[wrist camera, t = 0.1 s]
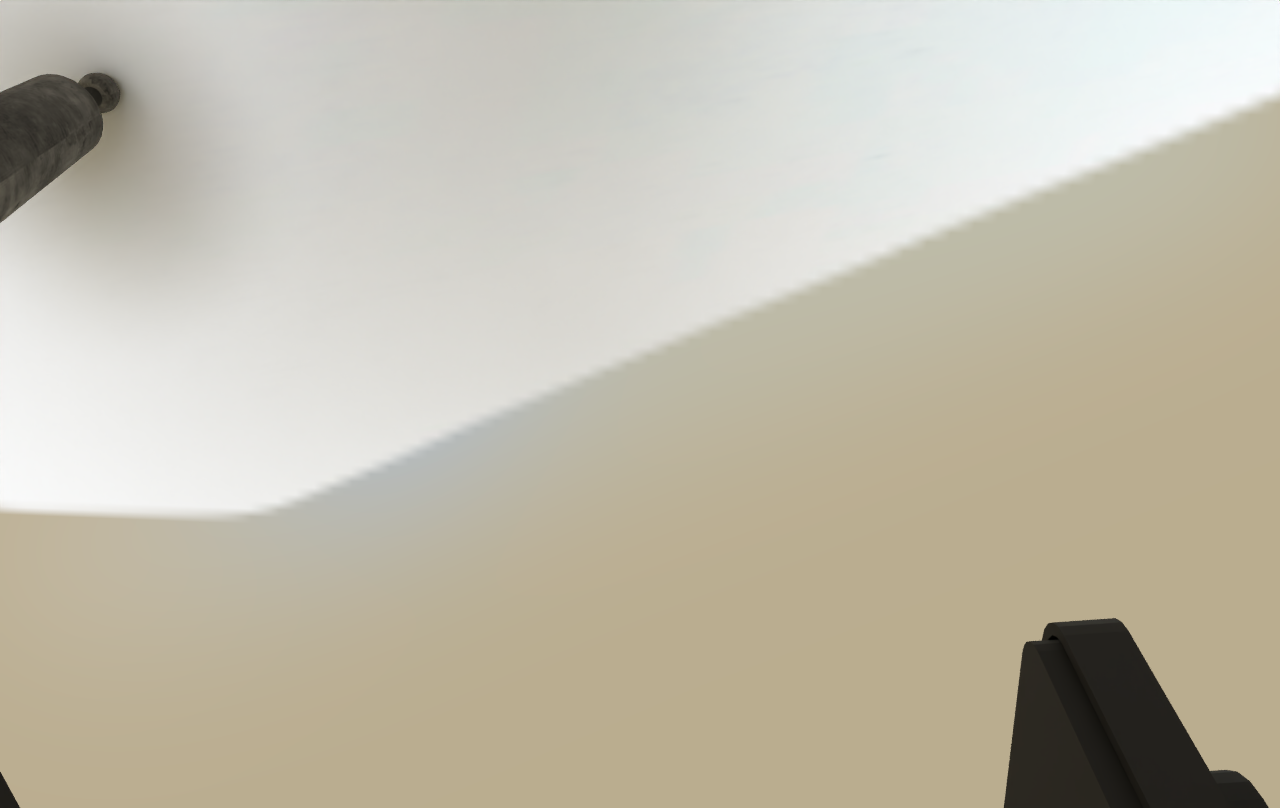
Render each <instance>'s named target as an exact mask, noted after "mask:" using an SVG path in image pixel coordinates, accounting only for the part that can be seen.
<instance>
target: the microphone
mask: <svg viewBox="0 0 1280 808" xmlns="http://www.w3.org/2000/svg"><path fill="white" fill-rule="evenodd" d="M119 99H120V92H119V88H118V86H117V84H116V83H115V82H114V81H113V80H112V79H111V78H110V77H108V76H107V75H104V74H101V73H91V74H88V75H85V76H84V77H83V78H82V79H81V80H80V81H79V83H76V82H75V81H73V80H71V79H69V78H66V77H64V76H60V75H53V74H46V75H40V76H37V77H35V78H32V79H30V80H28V81H26V82H23V83H21V84H19V85H16V86H14V87H12V88H9V89H7V90H5V91H2V92H0V223H1V222H2V221H3V220H5V219H6V218H7V217H8V216H9V215H11V214H12V213H13V212H14V211H16V210H17V209H18V208H19V207H21V206H22V205H23V204H24V203H26V202H27V201H28V200H29V199H31V198H32V197H33V196H34V195H36V194H37V193H38V192H39V191H41V190H42V189H43V188H44V187H46V186H47V185H48V184H49V183H50V182H52V181H53V180H54V179H55V178H57V177H58V176H59V175H60V174H62V173H63V172H64V171H65V170H67V169H68V168H69V167H70V166H72V165H73V164H74V163H75V162H77V161H78V160H79V159H80V158H82V157H83V156H84V155H85V154H87V153H88V152H89V151H90V150H91V149H93V148H94V147H95V146H96V144H97V143H98V142H99V140H100V138H101V135H102V130H103V120H102V115H101V113H105V112H109V111H111V110H112V109H114V108H115V107H116V106H117V104H118V102H119Z"/></svg>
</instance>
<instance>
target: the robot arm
mask: <svg viewBox="0 0 1280 808" xmlns="http://www.w3.org/2000/svg"><path fill="white" fill-rule="evenodd" d="M0 808H20V807H19V805H18V803H17V801H16V800H15V798H14V796H13V794H12V792H11V791H10V789H9V787H8V785H7V783H6V781H5V779H4V778H3V776H2V774H1V772H0ZM1004 808H1268V806H1267V805H1266V803H1265V801H1264V799H1263V798H1262V797H1261V795H1260V794H1259V793H1258V791H1257V790H1256V789H1255V787H1254V786H1253V785H1252V783H1251V782H1250V781H1249V780H1247V779H1246V778H1245V777H1244V776H1242V775H1241V774H1240V773H1238V772H1236V771H1229V770H1218V771H1209V769H1208V767H1207V765H1206V764H1205V762H1204V760H1203V759H1202V757H1201V755H1200V753H1199V752H1198V750H1197V748H1196V747H1195V745H1194V743H1193V741H1192V740H1191V738H1190V736H1189V734H1188V733H1187V731H1186V729H1185V728H1184V726H1183V724H1182V722H1181V721H1180V719H1179V717H1178V716H1177V714H1176V712H1175V710H1174V709H1173V707H1172V705H1171V704H1170V702H1169V700H1168V698H1167V697H1166V695H1165V693H1164V691H1163V690H1162V688H1161V686H1160V685H1159V683H1158V681H1157V679H1156V678H1155V676H1154V674H1153V672H1152V671H1151V669H1150V667H1149V666H1148V664H1147V662H1146V660H1145V659H1144V657H1143V655H1142V654H1141V652H1140V650H1139V648H1138V647H1137V645H1136V643H1135V642H1134V640H1133V638H1132V636H1131V634H1130V633H1129V631H1128V630H1127V628H1126V627H1125V626H1124V624H1123V623H1122V622H1121V621H1119V620H1118V619H1116V618H1112V619H1099V620H1083V621H1070V622H1055V623H1049V624H1048V625H1047V626H1046V628H1045V629H1044V634H1043V638H1042V641H1029V642H1026V644H1025V645H1024V648H1023V653H1022V661H1021V669H1020V677H1019V686H1018V694H1017V702H1016V711H1015V719H1014V727H1013V737H1012V744H1011V752H1010V761H1009V770H1008V778H1007V786H1006V795H1005V803H1004Z"/></svg>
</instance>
